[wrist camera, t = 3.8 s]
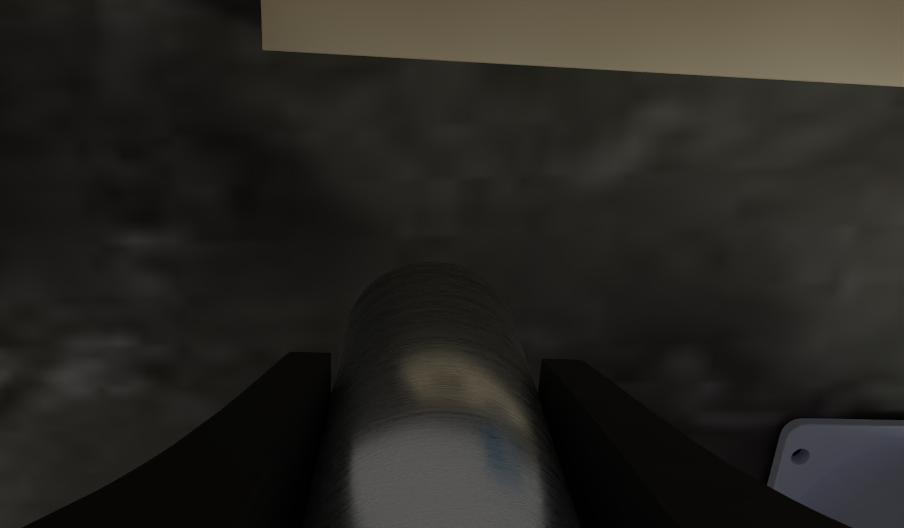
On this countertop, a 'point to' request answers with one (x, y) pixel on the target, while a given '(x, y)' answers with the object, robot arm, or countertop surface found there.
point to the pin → (435, 414)
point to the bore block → (611, 35)
